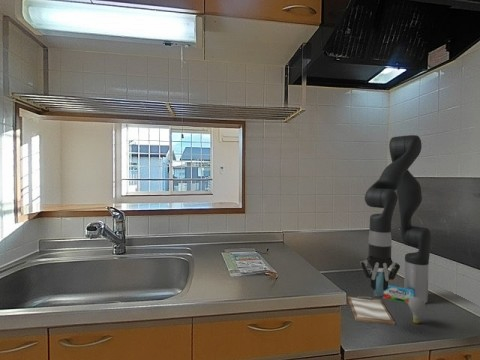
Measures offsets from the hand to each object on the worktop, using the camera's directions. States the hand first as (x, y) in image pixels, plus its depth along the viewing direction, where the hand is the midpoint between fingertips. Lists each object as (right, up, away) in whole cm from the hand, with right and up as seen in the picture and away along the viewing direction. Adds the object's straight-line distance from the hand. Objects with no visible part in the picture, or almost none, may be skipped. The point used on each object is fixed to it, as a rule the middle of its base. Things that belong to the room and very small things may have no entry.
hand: (378, 289), depth 106 cm
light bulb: (+16, -15, +4) cm, 23 cm away
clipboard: (+3, -14, +14) cm, 20 cm away
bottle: (0, -3, 0) cm, 3 cm away
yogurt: (+20, -14, +23) cm, 34 cm away
